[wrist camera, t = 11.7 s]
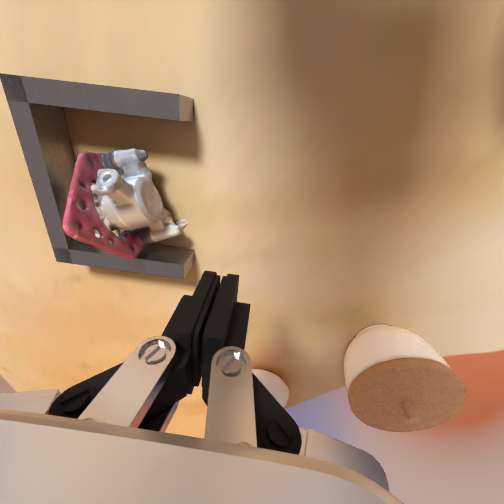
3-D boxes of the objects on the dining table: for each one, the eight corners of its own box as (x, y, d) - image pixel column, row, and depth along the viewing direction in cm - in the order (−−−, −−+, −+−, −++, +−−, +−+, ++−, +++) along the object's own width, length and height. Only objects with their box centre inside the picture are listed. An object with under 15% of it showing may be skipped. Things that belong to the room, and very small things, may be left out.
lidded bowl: (338, 308, 35) (363, 380, 25) (434, 309, 33) (500, 386, 23) (331, 368, 40) (348, 446, 30) (412, 371, 39) (458, 454, 29)
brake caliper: (46, 165, 26) (16, 160, 17) (147, 141, 31) (170, 125, 21) (99, 256, 31) (100, 294, 21) (179, 224, 35) (211, 243, 26)
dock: (38, 80, 25) (-2, 73, 21) (193, 99, 24) (179, 94, 21) (79, 247, 34) (56, 261, 30) (194, 262, 33) (184, 279, 30)
